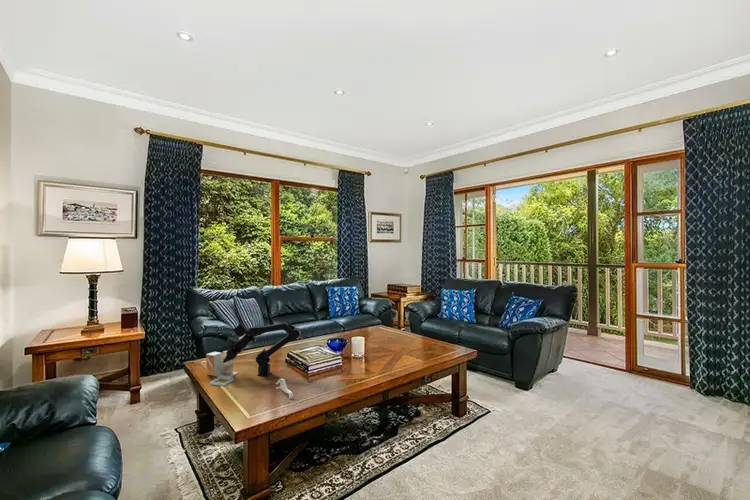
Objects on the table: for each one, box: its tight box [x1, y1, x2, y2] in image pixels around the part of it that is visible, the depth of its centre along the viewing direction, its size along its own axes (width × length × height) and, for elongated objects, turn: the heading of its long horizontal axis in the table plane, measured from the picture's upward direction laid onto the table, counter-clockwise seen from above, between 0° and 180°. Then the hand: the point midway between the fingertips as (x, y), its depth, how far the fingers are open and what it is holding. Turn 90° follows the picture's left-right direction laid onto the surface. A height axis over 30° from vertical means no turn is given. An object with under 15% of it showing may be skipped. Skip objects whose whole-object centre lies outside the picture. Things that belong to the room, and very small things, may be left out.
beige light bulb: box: [222, 350, 234, 376], centre depth 223 cm, size 6×6×14 cm
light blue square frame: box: [209, 376, 235, 387], centre depth 211 cm, size 9×9×2 cm
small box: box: [205, 351, 223, 377], centre depth 224 cm, size 8×6×13 cm
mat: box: [216, 371, 239, 378], centre depth 223 cm, size 9×9×1 cm
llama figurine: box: [275, 378, 294, 400], centre depth 197 cm, size 2×11×18 cm
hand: (226, 359), depth 223 cm, fingers open, 9 cm apart
